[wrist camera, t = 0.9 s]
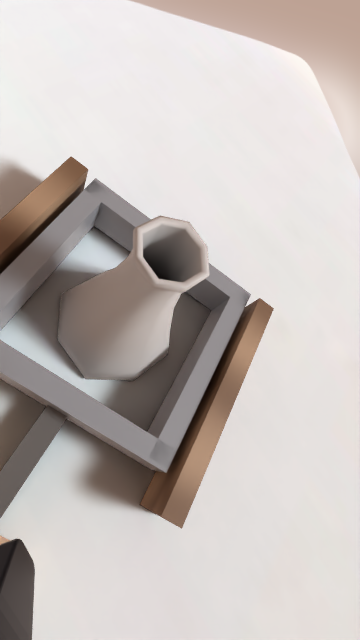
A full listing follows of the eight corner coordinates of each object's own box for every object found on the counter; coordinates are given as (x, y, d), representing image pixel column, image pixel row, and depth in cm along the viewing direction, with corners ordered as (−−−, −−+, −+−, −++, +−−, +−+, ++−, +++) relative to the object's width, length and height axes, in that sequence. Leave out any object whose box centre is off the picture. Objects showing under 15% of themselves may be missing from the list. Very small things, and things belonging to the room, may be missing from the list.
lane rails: (157, 514, 19) (181, 528, 16) (-107, 361, 17) (-137, 343, 14) (244, 324, 26) (273, 308, 23) (65, 193, 23) (71, 156, 20)
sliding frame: (78, 612, 16) (98, 679, 12) (-177, 484, 14) (-273, 504, 10) (230, 307, 25) (275, 278, 21) (89, 203, 23) (103, 146, 19)
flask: (148, 267, 24) (217, 170, 15) (182, 364, 23) (278, 318, 14) (41, 284, 21) (51, 172, 12) (73, 399, 19) (112, 366, 11)
